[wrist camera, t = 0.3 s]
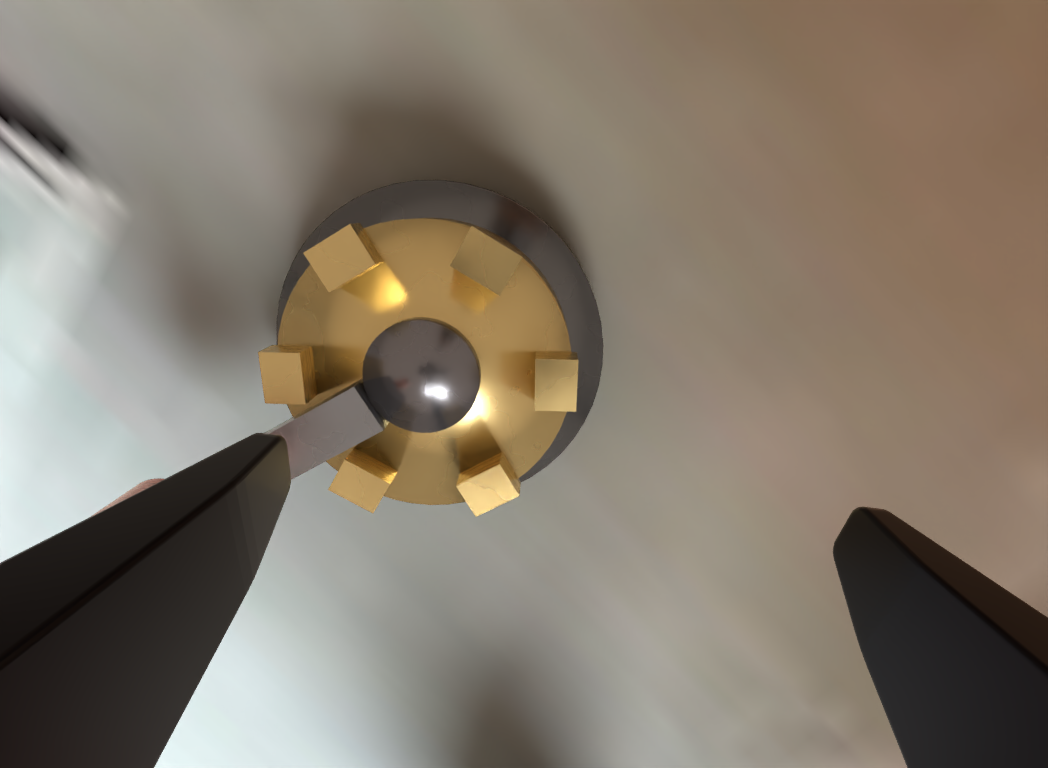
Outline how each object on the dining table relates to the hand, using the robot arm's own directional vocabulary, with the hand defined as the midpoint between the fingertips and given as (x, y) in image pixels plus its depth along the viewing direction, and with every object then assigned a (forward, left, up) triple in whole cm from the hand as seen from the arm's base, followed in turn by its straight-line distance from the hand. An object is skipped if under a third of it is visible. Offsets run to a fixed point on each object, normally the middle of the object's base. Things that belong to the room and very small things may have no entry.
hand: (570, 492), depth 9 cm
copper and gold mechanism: (-7, +4, -13) cm, 16 cm away
